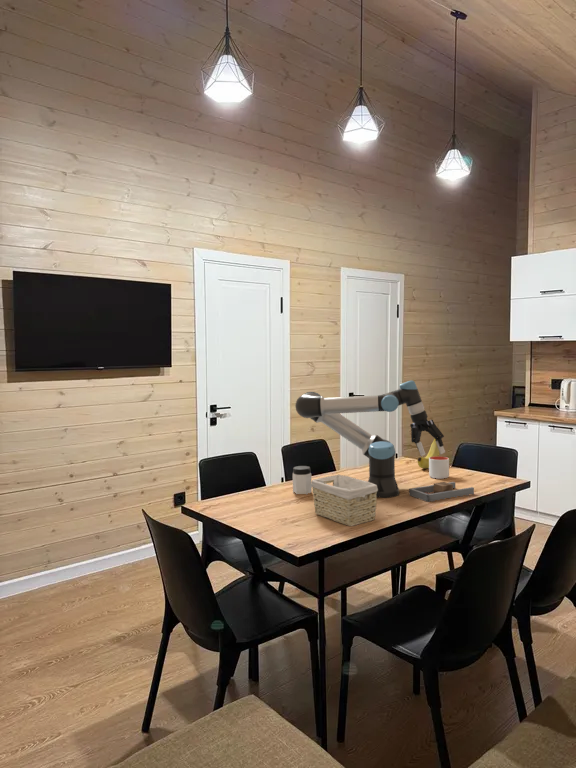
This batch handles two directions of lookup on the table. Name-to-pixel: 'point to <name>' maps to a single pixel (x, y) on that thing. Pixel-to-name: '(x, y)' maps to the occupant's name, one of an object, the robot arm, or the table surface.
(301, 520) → the table surface
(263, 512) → the table surface
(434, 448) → the banana
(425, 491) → the trough
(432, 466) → the cup
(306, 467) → the jar
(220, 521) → the table surface
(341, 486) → the storage basket
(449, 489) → the walnut block
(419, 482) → the table surface
